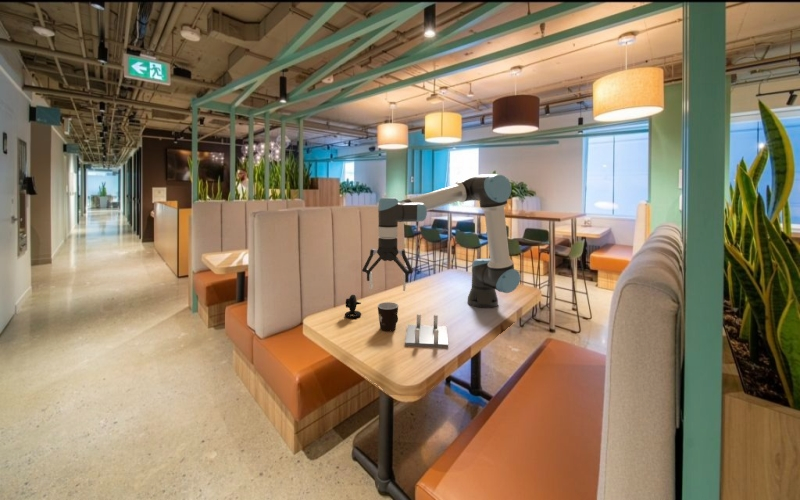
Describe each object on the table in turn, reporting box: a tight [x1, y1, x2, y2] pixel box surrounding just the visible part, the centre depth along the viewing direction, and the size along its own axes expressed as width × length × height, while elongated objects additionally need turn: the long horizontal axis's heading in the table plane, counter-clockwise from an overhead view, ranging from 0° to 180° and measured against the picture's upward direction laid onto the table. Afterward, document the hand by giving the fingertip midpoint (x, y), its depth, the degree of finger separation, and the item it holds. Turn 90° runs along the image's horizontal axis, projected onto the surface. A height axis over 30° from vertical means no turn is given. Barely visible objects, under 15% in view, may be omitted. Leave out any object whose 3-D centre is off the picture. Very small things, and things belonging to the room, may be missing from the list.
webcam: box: [344, 294, 362, 320], centre depth 155 cm, size 8×8×10 cm
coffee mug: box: [377, 301, 399, 333], centre depth 140 cm, size 12×9×10 cm
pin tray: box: [404, 313, 449, 349], centre depth 134 cm, size 16×17×6 cm
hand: (387, 289), depth 137 cm, fingers open, 13 cm apart
